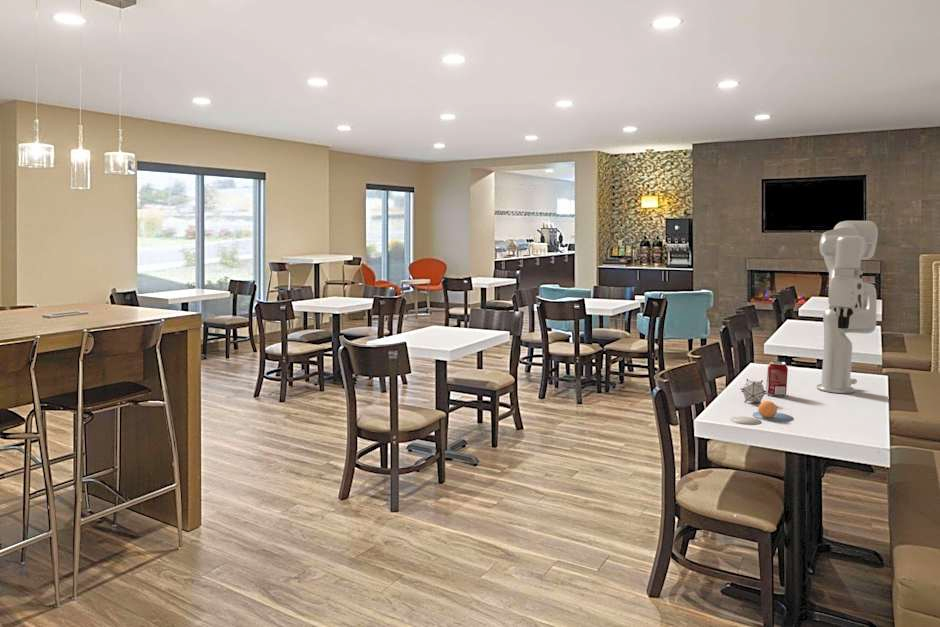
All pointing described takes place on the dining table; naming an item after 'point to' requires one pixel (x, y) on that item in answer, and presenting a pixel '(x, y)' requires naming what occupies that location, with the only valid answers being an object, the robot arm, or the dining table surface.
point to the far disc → (746, 420)
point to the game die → (753, 391)
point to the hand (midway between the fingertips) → (843, 328)
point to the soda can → (776, 378)
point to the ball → (767, 409)
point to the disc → (775, 417)
